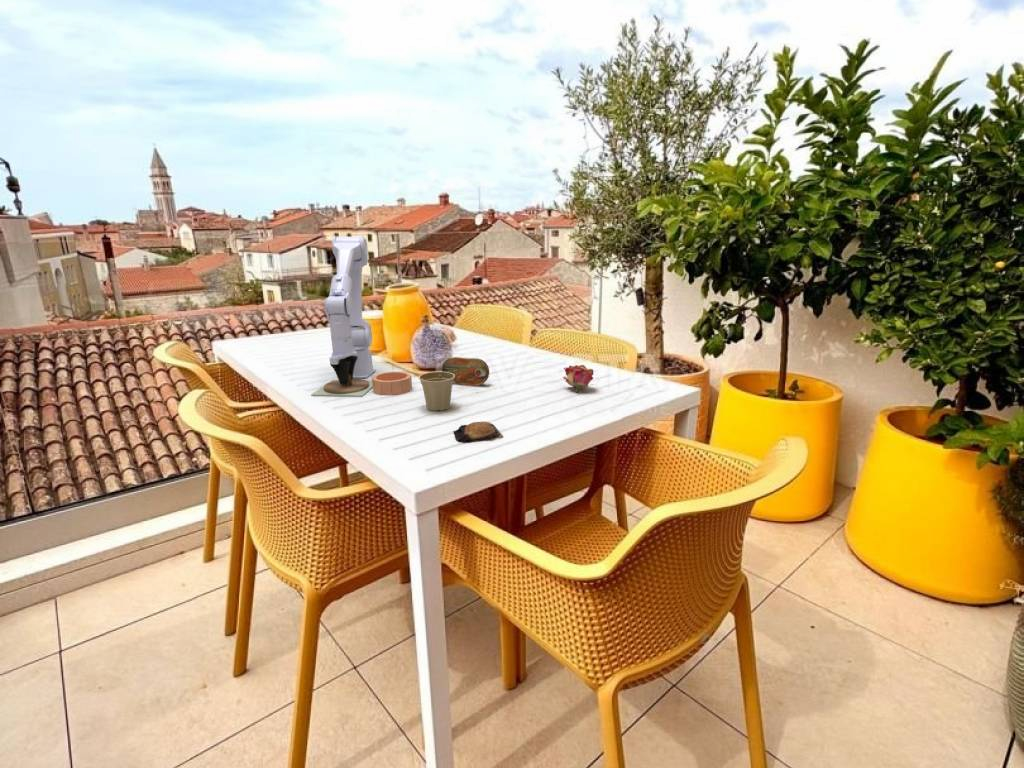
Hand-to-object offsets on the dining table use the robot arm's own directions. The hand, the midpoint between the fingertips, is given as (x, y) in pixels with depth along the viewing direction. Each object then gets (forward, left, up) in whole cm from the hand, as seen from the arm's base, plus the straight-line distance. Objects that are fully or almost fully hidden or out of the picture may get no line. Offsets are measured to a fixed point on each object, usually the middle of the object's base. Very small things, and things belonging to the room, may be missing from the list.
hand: (346, 382), depth 148 cm
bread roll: (+33, +44, -3) cm, 55 cm away
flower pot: (+15, +31, -2) cm, 35 cm away
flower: (-3, +69, -2) cm, 69 cm away
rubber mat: (0, 0, -2) cm, 2 cm away
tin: (-7, +35, -2) cm, 36 cm away
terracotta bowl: (0, +14, -2) cm, 14 cm away
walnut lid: (0, 0, -2) cm, 2 cm away
